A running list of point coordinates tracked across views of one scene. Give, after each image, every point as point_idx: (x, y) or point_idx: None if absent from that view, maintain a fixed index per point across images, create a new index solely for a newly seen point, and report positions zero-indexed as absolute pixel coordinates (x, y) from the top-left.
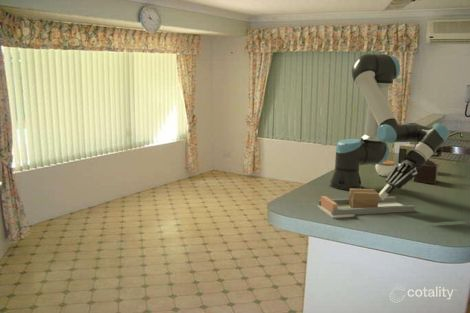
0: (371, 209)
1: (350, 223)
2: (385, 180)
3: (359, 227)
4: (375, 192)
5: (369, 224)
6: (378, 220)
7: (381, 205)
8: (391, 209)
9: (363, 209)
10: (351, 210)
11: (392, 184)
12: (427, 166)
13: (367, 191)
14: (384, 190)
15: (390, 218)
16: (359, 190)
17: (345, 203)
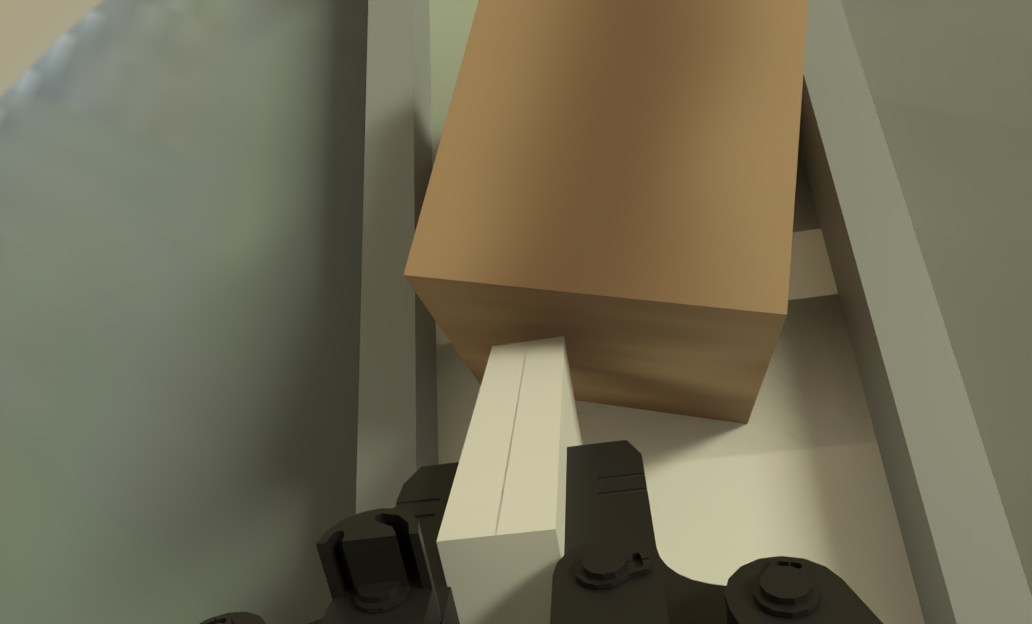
0: (367, 232)
1: (235, 16)
2: (819, 569)
3: (129, 59)
4: (500, 244)
5: (164, 163)
6: (237, 296)
7: None
8: None
9: (368, 129)
10: (373, 6)
11: (335, 589)
12: None
13: (584, 121)
14: (473, 423)
15: (261, 477)
16: (660, 9)
17: None
